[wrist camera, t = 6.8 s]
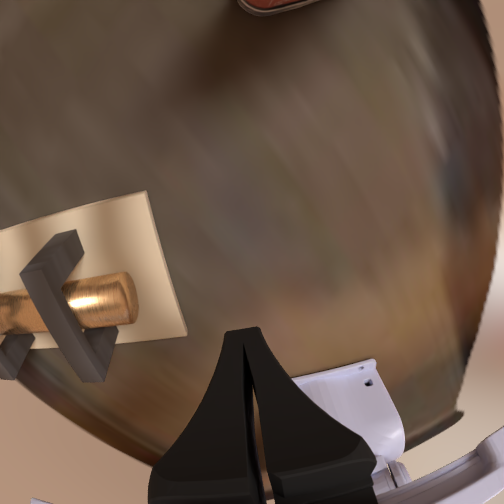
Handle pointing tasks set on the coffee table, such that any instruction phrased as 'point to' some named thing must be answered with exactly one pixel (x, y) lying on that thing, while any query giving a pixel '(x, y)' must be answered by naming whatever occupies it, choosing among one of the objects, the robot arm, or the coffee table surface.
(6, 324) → the tube
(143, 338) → the board
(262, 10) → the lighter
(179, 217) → the coffee table surface
